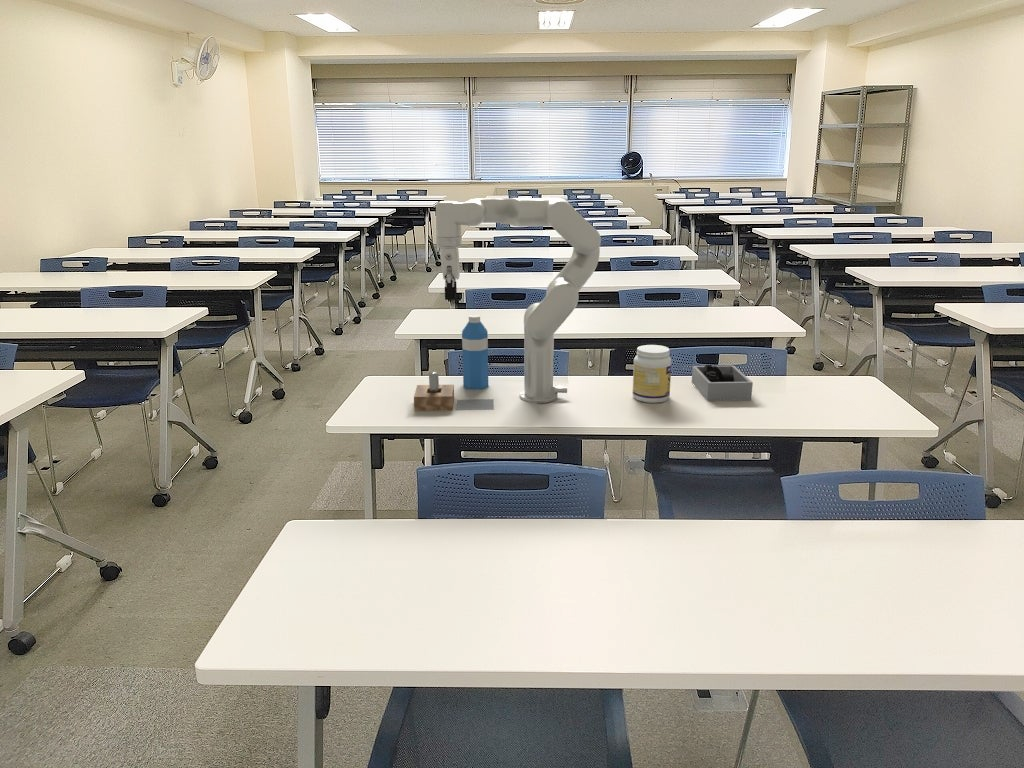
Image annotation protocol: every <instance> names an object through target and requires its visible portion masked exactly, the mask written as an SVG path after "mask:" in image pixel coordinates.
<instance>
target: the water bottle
mask: <svg viewBox="0 0 1024 768" xmlns="http://www.w3.org/2000/svg"><path fill="white" fill-rule="evenodd" d="M488 337H489V336H488V329H487V328H486V327H485V326H484V324H483V322H482V321H481V314H480V315H479V314H470V315H468V321H467V323H466V325H465V326H464V328H463V329H462V331H461V345H462V349H461V350H462V378H463V379H462V380H463V381H462V383H463V384H462V385H463V388H465V389H468V390H482V389H486V388H489V344H488V343H489V341H488Z"/></svg>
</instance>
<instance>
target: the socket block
mask: <svg viewBox="0 0 1024 768" xmlns="http://www.w3.org/2000/svg"><path fill="white" fill-rule="evenodd" d="M415 388H416V389H415V391H414V393H413V409H414V410H413V411H415V412H423V411H425V412H427V411H436V412H437V411H453V409H454V402H455V385H454V384H439V393H430V389H429V384H416V387H415Z"/></svg>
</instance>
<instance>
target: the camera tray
mask: <svg viewBox="0 0 1024 768" xmlns="http://www.w3.org/2000/svg"><path fill="white" fill-rule="evenodd" d="M705 366H706V365H693V366H692V368H691V369H692V370H691V373H692V374H691V384H692V383H693V384H694V385H695V386H694V385H693V384H692V385H693V386H694V387H695V388H696V389H697V391H698V390H699V391H700V392H699V391H698V392H699V393H700V395H702V397H703V398H704V399H705V400H706V401H710V402H711V401H713V402H714V401H716V402H717V401H751V400H752V393H753V385H754V384H753V383H754V382H753V381H752V380H750V379H749V378H748V377H747V375H745V374H744V373H743V372H742V371H741V370H739V369H738V368H737V367H736V365H716V366H717V367H718V368H719V369H720V370H721V372H722V373H729V374H733V377H734V382H710V381H709V380H708V379H707V378H706V377H705V376H704V375H703V368H704V367H705Z"/></svg>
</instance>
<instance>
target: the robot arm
mask: <svg viewBox="0 0 1024 768" xmlns="http://www.w3.org/2000/svg"><path fill="white" fill-rule="evenodd" d="M435 221H436V225H435V226H436V246H437V248H439V249H440V250H441V251H440V252H441V255H440V256H441V270H442V271H441V273H442V279H443V280H444V300H446V301H451V300H452V301H454V300H456V295H457V293H458V292H457V291H458V289H457V281H458V280H459V279H460V277H461V276H460V253H459V252H460V251H459V248H461V247H462V226H467V227H477V226H480V224H483V223H485V224H486V223H487V224H488V223H490V224H493V223H496V224H506V225H510V226H513V227H522V228H523V227H525V228H526V227H552V228H553V230H555V231H556V233H557V234H559V236H561V237H562V238H563V239H564V240H565V241H566V242H567V244H569V245H570V246H571V247H572V248H573V249H572V250H573V251H572V255H571V257H570V259H568V261H567V262H566V264H565V265H564V267H563V268H562V269H561V270H560V271H559V272H558V273H557V275H556V276H555V277H554V278H553V280H552V281H550V283H548V285H547V288H546V290H545V292H546V293H545V296H544V297H543V299H542V300H541V301H540V302H534V303H532V304H530V305H529V306H527V308H526V309H525V311H524V313H523V315H524V316H523V336H524V337H523V339H524V341H523V342H524V344H523V346H524V352H523V353H524V355H523V357H524V358H523V359H524V361H523V364H524V366H523V367H524V369H523V371H524V372H523V373H524V377H523V378H524V379H523V380H524V381H523V382H524V383H523V384H524V388H523V389H524V390H522V391H520V393H519V398H520V399H521V400H522V401H524V402H527V403H534V404H547V403H551V402H554V401H556V400H557V399H558V397H559V395H558V394H568V387H567V386H563V385H555V381H554V351H555V348H554V346H555V345H554V343H555V341H554V340H555V339H554V337H555V336H554V334H555V333H556V332H557V331H558V329H559V328H560V327H561V326H562V325H563V324H564V323H565V321H566V320H567V319H568V318H569V317H570V316H571V314H572V313H573V311H574V310H575V309H576V308H577V305H578V302H579V299H580V298H579V297H580V296H579V293H580V291H581V289H582V288H583V287H584V285H585V284H586V283H587V282H588V280H589V279H590V278H591V277H592V275H593V273H595V270H596V269H597V267H598V264H599V259H600V253H601V252H600V251H601V250H600V248H601V247H600V246H601V244H602V238H601V234H600V232H599V231H598V230H597V229H596V228H595V227H594V226H593V225H592V224H591V223H590V222H589V221H588V220H586V219H585V217H583V216H582V214H581V213H579V212H578V211H577V210H576V209H575V208H574V207H573V205H572V204H571V203H570V202H568V201H567V200H565V199H564V198H561V197H552V198H551V197H540V198H539V197H535V198H534V197H533V198H532V197H530V198H529V197H521V198H520V197H513V198H512V197H510V198H470V199H468V200H466V201H465V202H464V201H463V202H462V201H461V202H458V201H456V200H441V201H438V202H436V204H435Z"/></svg>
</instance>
